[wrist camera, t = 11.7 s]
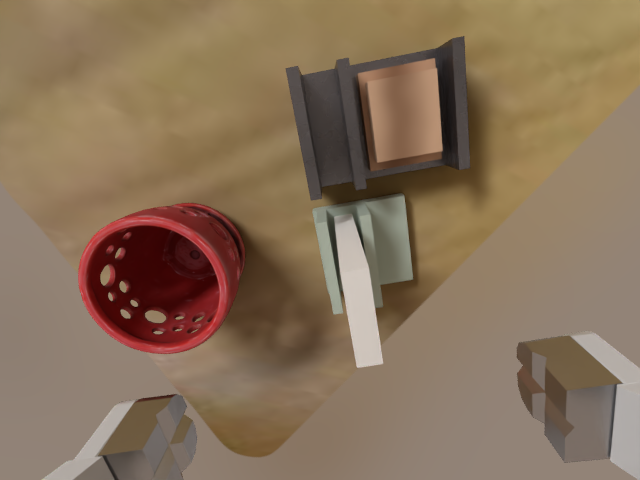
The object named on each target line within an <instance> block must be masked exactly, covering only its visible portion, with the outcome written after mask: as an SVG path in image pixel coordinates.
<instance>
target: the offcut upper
mask: <svg viewBox="0 0 640 480" xmlns="http://www.w3.org/2000/svg"><path fill="white" fill-rule="evenodd" d="M365 90H366V98H367V105H368V113H369V121H370V129H371V136H372V144H373V152H374V160H375V161H376V162H377V163H379V162H384V161H390V160H395V159H401V158H406V157H412V156H417V155H423V154H428V153H434V152H439V151H443V149H442V134H441V119H440V104H439V90H438V75H437V68H435V69H429V70H424V71H419V72H414V73H409V74H404V75H399V76H394V77H389V78H384V79H379V80H374V81H368V82H366V83H365Z"/></svg>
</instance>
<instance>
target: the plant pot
mask: <svg viewBox="0 0 640 480" xmlns="http://www.w3.org/2000/svg"><path fill="white" fill-rule="evenodd" d="M125 234H126V235H125ZM124 235H125V236H124ZM119 248H121V252H120V254H119V256H118V257H117V258H115V255H116V252H117V251H118V249H119ZM107 264H108V265H109V267H110V279H109V281H108V283H107V284H106V285H105V286H103V285H102V284H101V281H100V274H101V272H102V270H103V269H104V267H105V266H106V265H107ZM244 265H245V248H244V244H243V241H242V238H241V236H240V234H239V232H238V230H237V229H236V227H235V226H234V225H233V223H232V222H231V221H230V220H229V219H228V218H227V217H226V216H224V215H223V214H221V213H220V212H218V211H217V210H215V209H213V208H210V207H208V206H205V205H201V204H196V203H181V204H176V205H173V206H165V207H157V208H151V209H146V210H142V211H139V212H136V213H133V214H130V215H128V216H125V217H123V218H121V219H119V220H116V221H114V222H112V223H110V224H109V225H107V226H105V227H104V228H102V229H101V230H100V231H98V232H97V233H96V234H95V235H94V236H93V237H92V239H91V240H90V241H89V243H88V244H87V246H86V248H85V250H84V252H83V254H82V257H81V260H80V265H79V272H78V281H79V289H80V292H81V296H82V299H83V302H84V304H85V306H86V308H87V310H88V311H89V313H90V315H91V316H92V318H93V319H94V320H95V321H96V323H97V324H98V325H99V326H100V327H101V328H102V329H103V330H104V331H105V332H106V333H107V334H109V335H110V336H111V337H112V338H114V339H115V340H117V341H119V342H120V343H122V344H124V345H126V346H128V347H131V348H133V349H137V350H140V351H144V352H149V353H158V354H171V353H178V352H183V351H187V350H190V349H192V348H195V347H197V346H199V345H200V344H202V343H204V342H205V341H206V340H208V339H209V338H210V337H211V336H212V335H213V334H214V333H215V332H216V331H217V330H218V329H219V328H220V326H221V325H222V323H223V321H224V320H225V318H226V316H227V315H228V313H229V311H230V308H231V306H232V304H233V301H234V299H235V296H236V294H237V291H238V286H239V280H240V276H241V274H242V272H243V269H244ZM121 281H123V282H124V283H125V284H126V287H127V290H126V292H125V293H124V292H122V291H121V290H120V288H119V284H120V282H121ZM109 292H110V293H111V294H112V297H113V301H110V300H109V298H108V293H109ZM131 300H134V301H136V302H137V303H138V307H134V306H132V305H131V303H130V301H131ZM121 309H124V310H126V311H127V312H128V313H129V314H130V316H131V318H130V319H126V318H124V317H123V316H122V315H121V312H120V310H121ZM149 310H154V311H159V312H161V313H163V314H164V315H165V316H166V320H165V321H164V322H163V323H153V322H151V321H148V320H147V319H146V317H145V313H146V312H147V311H149ZM179 316H183V317H184V318H183V319H180V320H176V319H175V318H176V317H179ZM202 316H204V318H203V319H202V320H200V321H197V322H195V321H196V320H197V319H198V318H200V317H202ZM177 329H182V330H180V331H175V330H177ZM196 329H198V330H197V331H196V332H194V333H191V332H193V331H194V330H196ZM155 331H161V332H163V334H154V333H153V332H155Z"/></svg>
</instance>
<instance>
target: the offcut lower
mask: <svg viewBox="0 0 640 480" xmlns="http://www.w3.org/2000/svg"><path fill="white" fill-rule="evenodd" d="M435 68H436V66H435V58H433V59H428V60H423V61H418V62H413V63H408V64H403V65H398V66H392V67H387V68H382V69H377V70H372V71H367V72H362V73H358V74H357V75H356V81H357V88H358V96H359V103H360V110H361V118H362V125H363V132H364V140H365V147H366V155H367V162H368V169H369V170H370V171H376V170H382V169H388V168H393V167H399V166H404V165H410V164H415V163H421V162H426V161H432V160H438V159H442V153H441V151H439V152H434V153H428V154H423V155H417V156H412V157H406V158H401V159H395V160H390V161H384V162H379V163H377V162H376V161H375V160H374V152H373V144H372V136H371V129H370V121H369V113H368V105H367V98H366V90H365V83H366V82H368V81H374V80H379V79H384V78H389V77H394V76H399V75H404V74H409V73H414V72H419V71H424V70H429V69H435Z"/></svg>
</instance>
